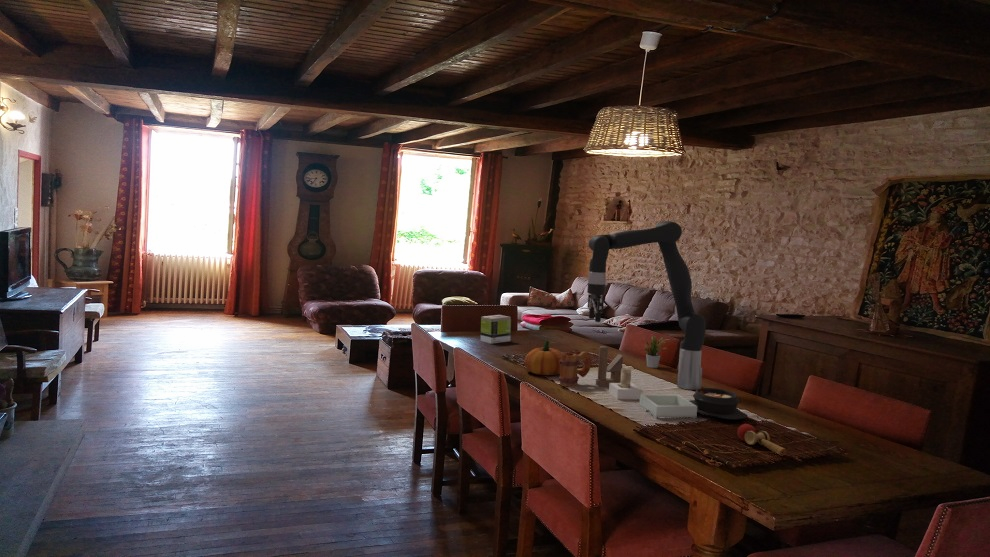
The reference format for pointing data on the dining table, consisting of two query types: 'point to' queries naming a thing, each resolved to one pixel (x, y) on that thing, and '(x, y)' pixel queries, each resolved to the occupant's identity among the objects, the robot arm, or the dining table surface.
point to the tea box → (495, 329)
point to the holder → (624, 391)
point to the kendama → (758, 438)
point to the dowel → (625, 378)
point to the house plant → (653, 352)
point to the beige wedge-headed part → (608, 368)
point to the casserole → (717, 403)
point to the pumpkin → (544, 361)
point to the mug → (573, 368)
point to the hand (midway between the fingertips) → (594, 320)
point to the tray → (668, 406)
